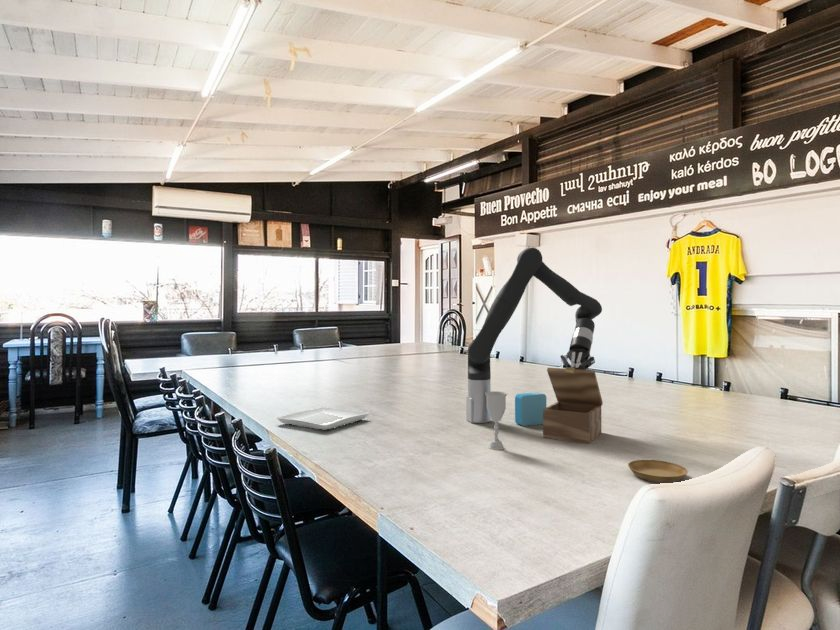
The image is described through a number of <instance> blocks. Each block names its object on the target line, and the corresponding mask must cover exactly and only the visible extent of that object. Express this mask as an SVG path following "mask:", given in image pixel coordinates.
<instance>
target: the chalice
mask: <svg viewBox="0 0 840 630" xmlns="http://www.w3.org/2000/svg"><path fill="white" fill-rule="evenodd" d="M485 394H486V396H487V410H488V413H489V415H490V417H491V421H493V422H494V426H493V428H494V431H493V434H494V438H493V439H492V440H491V441H490V443H489V446H488V449H490V450H494V451H495V450H497V451H498V450H499V451H500V450H503V449H505V446H504V444H503V442H502V440H500V439H499V430H498V429H499V428H500V427H499V422H500V421H501V420H502V418H503V416H504V414H505V412H506V399H507V398H506V397H507V395H508V393H507V392H505V391H491V392H485Z"/></svg>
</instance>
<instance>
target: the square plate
mask: <svg viewBox="0 0 840 630" xmlns="http://www.w3.org/2000/svg"><path fill="white" fill-rule="evenodd" d="M320 413H325V414H329V415H334V416H338V417H343V418H342V419H337V420H335V421H333V422H328V423H323V424H316V423H311V422H306V421H301V420H300V419H304V418H308V417H311V416H314V415H317V414H320ZM370 414H371V413H370V412H367V411H361V410H355V409H346V408H340V407H339V408H338V407H327V406H325V407H324V406H321V407H317V408H312V409H311V408H310V409H306V410H301V411H297V412H292V413H289V414H284V415H281V416H277V417H276V418H275V419H276V420H278V421H279V422H281V423H283V424H284V423H285V424H284V425H289V424H292V425H291V426H293V425H298V426H297V427H299V426H304V427H303V428H305V427H310V428H309V429H311V428H315V429H314V430H317V429H322V430H321V431H326V430H327V429H329V430H332V429H331V428H334V427H337V428H339V427H338V426H340V427H342V426H341V425H344V424H347V425H349V424H348V423H351V422H354V423H356V422H358V421H361V420H363V419H366V418H367V417H368V416H369V415H370ZM355 421H356V422H355ZM351 424H352V423H351ZM344 426H345V425H344ZM334 429H335V428H334ZM327 431H328V430H327Z"/></svg>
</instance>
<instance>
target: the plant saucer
mask: <svg viewBox="0 0 840 630" xmlns="http://www.w3.org/2000/svg"><path fill="white" fill-rule="evenodd" d="M627 466H628V468H629V470H630V471H631V472H632V473H633V474H634V475H635V476H636V477H637V478H639V477H640V478H639V479H641V478H642V480H644V479H645V480H644V481H647V482H648V481H649V482H653V483H661V484H663V483H664V484H666V483H665V482H673V483H676V481H677V482H679V481H680V480H682V479H683V478H684V477H686V476H687V474H688V473H689V471H688V469H687V468H686V467H684V466H683V465H680V464H677V463H675V462H671V461H665V460H659V459H636V460H632V461H630V462H628V464H627Z"/></svg>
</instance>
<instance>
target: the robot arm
mask: <svg viewBox="0 0 840 630" xmlns="http://www.w3.org/2000/svg"><path fill="white" fill-rule="evenodd" d="M516 261H517V263H516V265H515V267H514V270H513V271H512V273H511V275H510V277H509V278H508V280H507V281H506V282H505V284H504V285H503V286H502V288H500V290H499V291H498V293H497V295H496V297H495V298H494V300H493V302H492V304H491V305H490V308H489V310H488V312H487V314H486V318H485V319H484V323H483V324H482V327H481V329H480V330H479V332H478V334H477V335H476V336H475V337H474V339H473V340H472V341H471V342H470V343H469V345H468V347H467V396H466V399H465V401H466V403H465V404H466V410H465V411H466V413H465V414H466V421H468V422H469V423H471V424H473V423H475V424H484V423H485V424H486V423H489V422H491V421H492V419H491V417H490V415H489V413H488V410H487V396H486V394H485V392H492V389H491V388H492V387H491V385H492V384H491V382H492V381H491V380H492V379H491V377H492V376H491V354H492V352H493V349H494V345H495V344H496V342H497V340H498V337H499V336H500V334H501V333H502V332H503V330H504V328H505V327H506V326H507V324H508V323H509V321H510V319H511V318H512V317H513V315H514V313H515V311H516V309H517V307H518V305H519V303H520V301H521V299H522V297H523V295H524V293H525V290H526V289H527V286H528V284H529V283H530V281H531V279H532V278H533V277H534V278H536V279H537V280H538V281H540V282H541V283H543V284H544V285H545V286H546V287H547V288H548V289H549V290H551V292H552V293H554V294H555V295H556V296H557V297H558V298H560V299H561V300H562V301H563V302H564V303H565V304H566V305H568V306H569V307H573V306H575V305H579V307H578V308H577V309H576V311H575V314H574V315H575V317H574V318H575V328H574V331H573V333H572V336H571V339H570V345H569V348H568V351H567V353H566V355H563V354H562V355H560V359H561V362H562V363H563V365H564V366H565V368H566V367H569V368H575V369H579V370H588V368H590V367H591V366H592V365H594V364H595V363H596V359H595V357H594V356H591V349H592V344H593V341H594V339H593V338H594V332H595V329H596V328H595V327H596V326H595V325H596V324H595V322H594V319H595V318H596V317H598V316H599V315H600V314H602V311H603V308H602V304H601V303H600V301H598V300H597V299H595V298H594V297H592V296H590V295H588V294H586V293H584V292H582V291H580V290H579V289H578V288H577V287H575V286H574V285H573V284H572V283H571V282H570V281H568V280H566V279H565V278H564V277H562V276H560V275H559V274H558V273H556V272H555V271H553V270H552V269H551V268H550V267H548V265H547V264H545V262H544V261H543V255H542V252H541V251H540V250H539V249H537V248H535V247H528V248H525V249H523V250H522V251H521V252H520V253H518V255H517V259H516ZM569 361H570V363H569Z"/></svg>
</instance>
